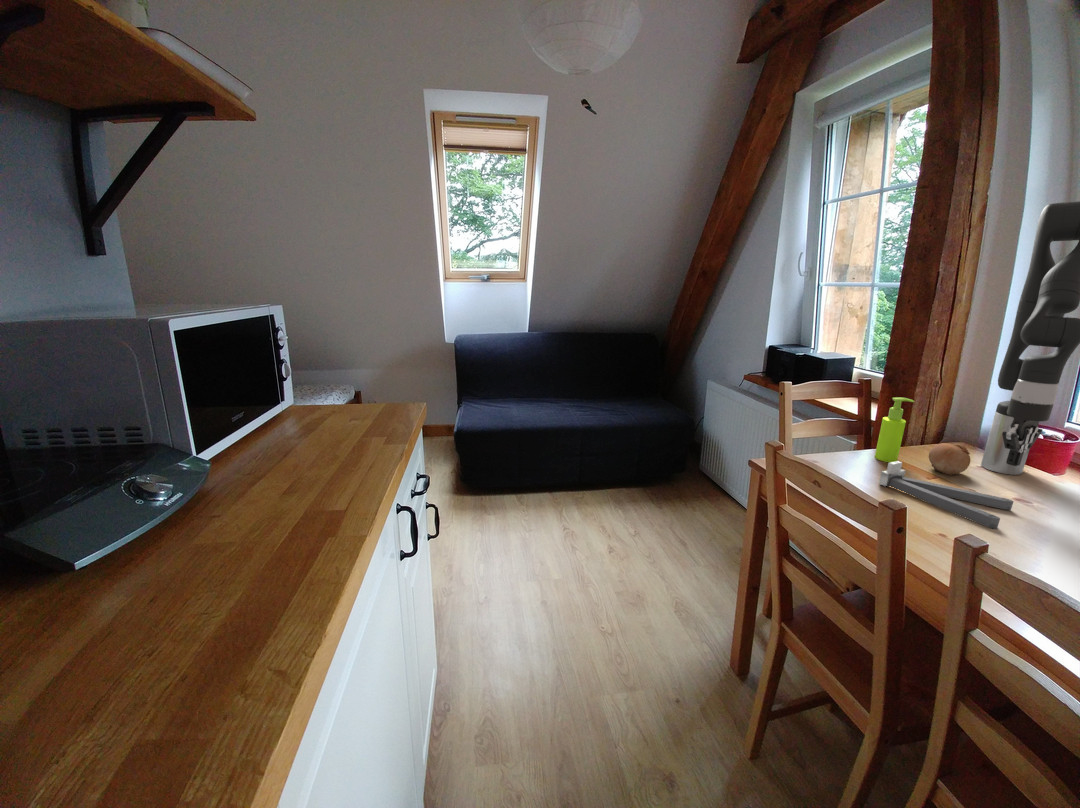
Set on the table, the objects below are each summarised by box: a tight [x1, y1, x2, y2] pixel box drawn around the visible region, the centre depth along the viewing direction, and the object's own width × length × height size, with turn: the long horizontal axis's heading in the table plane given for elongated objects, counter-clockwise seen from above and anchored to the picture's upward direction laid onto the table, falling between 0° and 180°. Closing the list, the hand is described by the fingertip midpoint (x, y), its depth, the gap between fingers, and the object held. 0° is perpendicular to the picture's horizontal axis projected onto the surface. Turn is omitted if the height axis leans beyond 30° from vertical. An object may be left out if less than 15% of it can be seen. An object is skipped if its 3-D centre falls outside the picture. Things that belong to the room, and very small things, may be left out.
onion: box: [928, 442, 971, 476], centre depth 142 cm, size 10×9×10 cm
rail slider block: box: [878, 460, 906, 487], centre depth 134 cm, size 2×7×6 cm, turn 112°
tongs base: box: [887, 476, 1001, 530], centre depth 124 cm, size 26×5×2 cm, turn 22°
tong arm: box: [902, 476, 1014, 511], centre depth 127 cm, size 22×2×2 cm, turn 52°
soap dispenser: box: [874, 397, 916, 463], centre depth 150 cm, size 6×7×20 cm
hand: (1012, 464), depth 122 cm, fingers closed
